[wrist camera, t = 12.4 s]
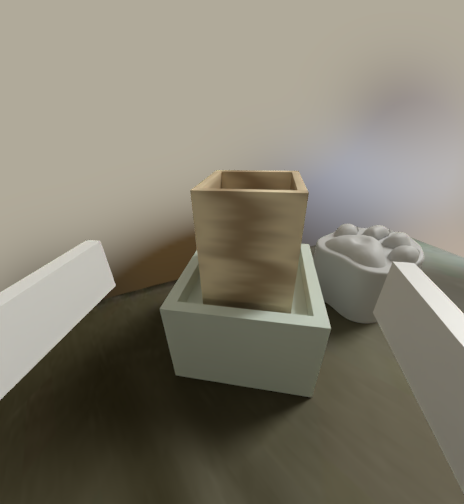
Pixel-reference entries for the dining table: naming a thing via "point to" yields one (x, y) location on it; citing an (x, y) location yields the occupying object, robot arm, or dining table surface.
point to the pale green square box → (248, 335)
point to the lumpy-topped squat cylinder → (360, 267)
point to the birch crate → (249, 237)
